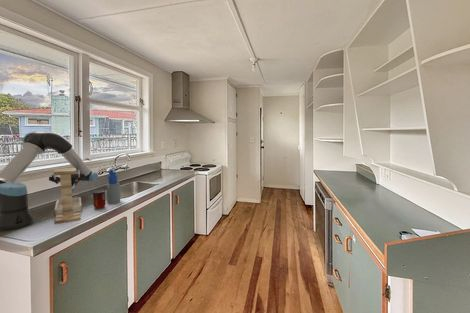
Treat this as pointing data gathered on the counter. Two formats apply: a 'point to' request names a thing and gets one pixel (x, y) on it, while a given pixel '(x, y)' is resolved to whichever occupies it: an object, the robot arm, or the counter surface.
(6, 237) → the counter surface
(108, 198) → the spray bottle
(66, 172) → the stand
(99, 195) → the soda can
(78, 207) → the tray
